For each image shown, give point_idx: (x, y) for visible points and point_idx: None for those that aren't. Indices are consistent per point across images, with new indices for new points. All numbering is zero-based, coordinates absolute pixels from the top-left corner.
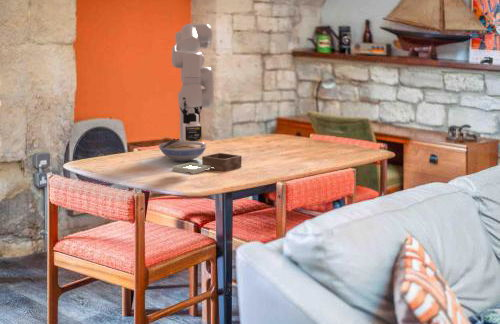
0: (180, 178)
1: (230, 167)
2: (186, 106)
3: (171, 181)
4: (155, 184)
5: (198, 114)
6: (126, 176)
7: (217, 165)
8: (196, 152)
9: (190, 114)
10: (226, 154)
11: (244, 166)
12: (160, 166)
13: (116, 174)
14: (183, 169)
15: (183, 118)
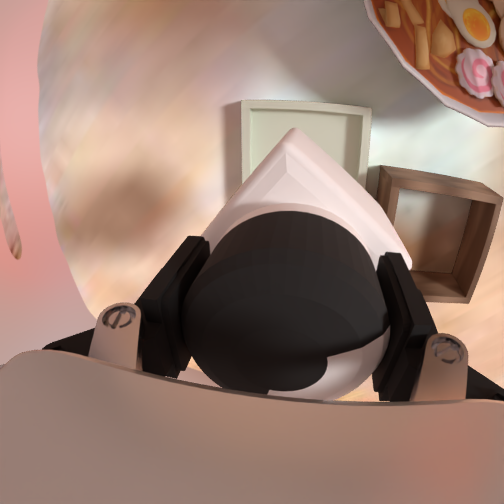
0: (161, 220)
1: None
2: (238, 391)
3: (117, 225)
4: (70, 215)
5: (374, 382)
6: (72, 70)
7: None
8: (456, 101)
9: (210, 371)
10: (485, 238)
11: None
12: (280, 5)
13: (74, 27)
14: (242, 164)
15: (169, 262)
